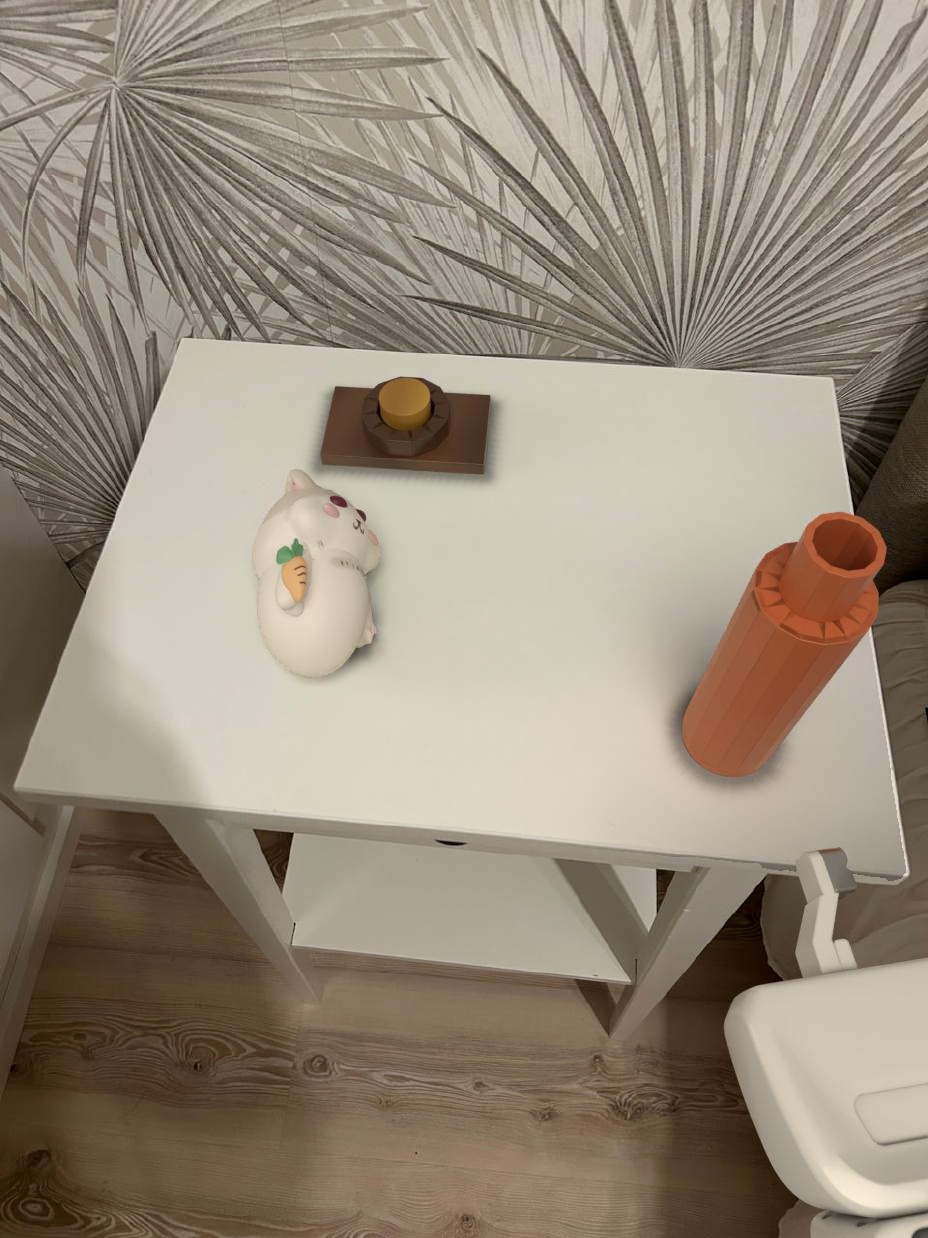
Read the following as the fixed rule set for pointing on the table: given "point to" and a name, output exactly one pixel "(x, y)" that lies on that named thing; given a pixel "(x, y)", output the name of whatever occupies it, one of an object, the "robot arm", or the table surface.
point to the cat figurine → (314, 578)
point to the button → (405, 404)
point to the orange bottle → (785, 643)
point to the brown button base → (407, 432)
